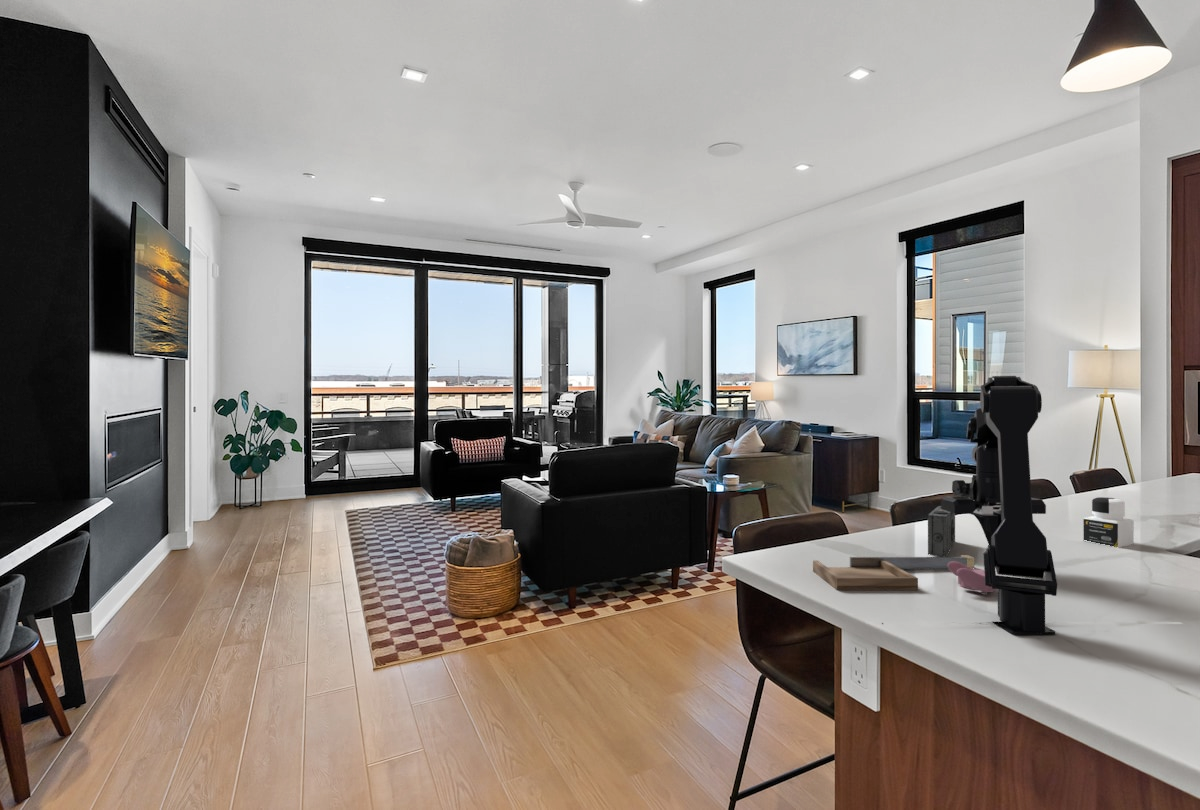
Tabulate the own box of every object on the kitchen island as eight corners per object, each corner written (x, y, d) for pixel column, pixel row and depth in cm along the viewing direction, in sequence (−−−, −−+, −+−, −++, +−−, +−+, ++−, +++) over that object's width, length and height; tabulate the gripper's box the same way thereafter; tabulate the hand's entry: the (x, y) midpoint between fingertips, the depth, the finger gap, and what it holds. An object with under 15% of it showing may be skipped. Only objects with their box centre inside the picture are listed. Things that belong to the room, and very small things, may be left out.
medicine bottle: (1082, 546, 149) (1082, 497, 149) (1099, 543, 152) (1099, 495, 152) (1117, 552, 142) (1117, 501, 142) (1134, 549, 145) (1134, 499, 145)
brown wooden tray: (917, 590, 114) (917, 578, 114) (837, 590, 114) (837, 578, 114) (885, 571, 127) (885, 560, 127) (813, 571, 127) (812, 560, 127)
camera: (946, 561, 135) (946, 516, 135) (926, 559, 137) (926, 514, 137) (956, 547, 148) (956, 506, 148) (937, 545, 150) (937, 504, 150)
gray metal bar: (974, 569, 127) (974, 557, 127) (851, 569, 127) (851, 557, 127) (967, 566, 129) (967, 555, 129) (846, 566, 129) (846, 555, 129)
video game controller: (957, 593, 111) (1002, 597, 108) (957, 568, 111) (1001, 571, 109) (947, 583, 120) (988, 587, 118) (946, 559, 120) (987, 562, 118)
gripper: (1011, 467, 136) (1011, 538, 136) (927, 467, 136) (927, 538, 136) (1047, 473, 125) (1048, 549, 125) (956, 473, 125) (956, 549, 125)
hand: (992, 546), depth 128 cm, fingers closed
